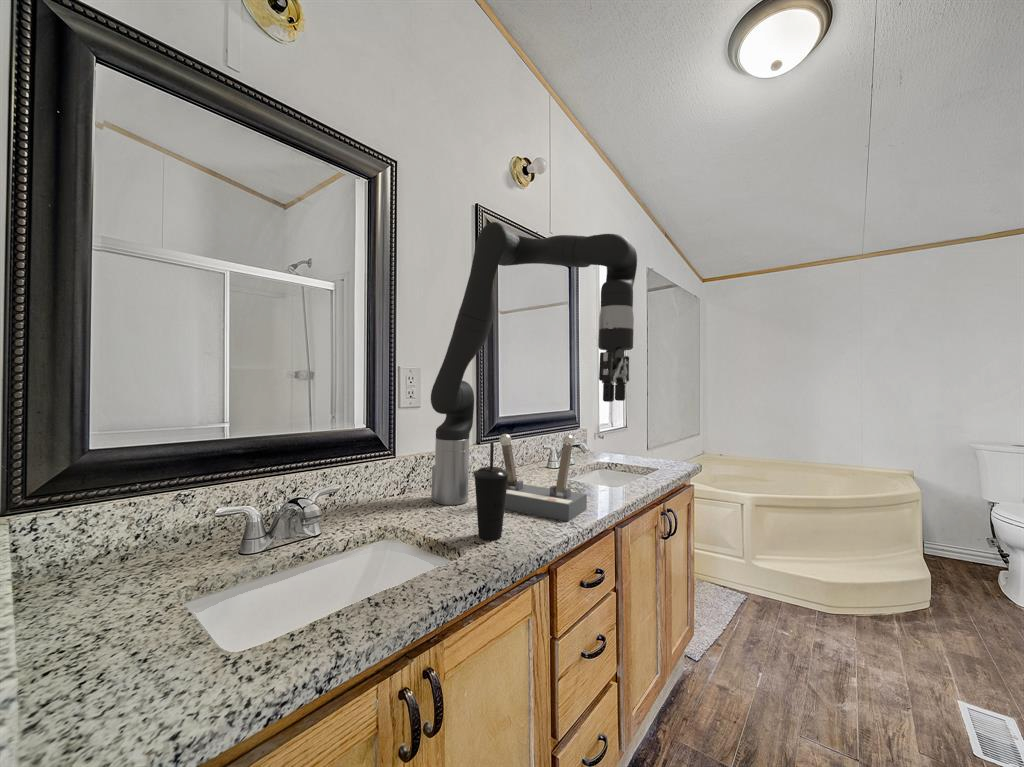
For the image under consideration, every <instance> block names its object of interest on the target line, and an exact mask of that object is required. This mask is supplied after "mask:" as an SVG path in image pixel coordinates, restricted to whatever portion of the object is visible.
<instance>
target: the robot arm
mask: <svg viewBox="0 0 1024 767" xmlns="http://www.w3.org/2000/svg"><path fill="white" fill-rule="evenodd" d="M473 253H474V254H473V258H472V264H471V266H470V268H471V269H470V272H469V277H468V280H467V282H466V287H465V291H464V295H463V298H462V302H461V305H460V307H459V310H458V314H457V316H456V319H455V320H456V321H455V324H454V328H453V331H452V335H451V338H450V341H449V344H448V347H447V350H446V353H445V355H444V359H443V362H442V364H441V366H440V369H439V371H438V373H437V376H436V378H435V380H434V382H433V385H432V389H431V392H430V404H431V407H432V409H433V410H434V411H435V413H437V414H441V415H445V418H444V421H443V422H442V423H441V424H440V425H439V426H438V427H437V428H436V429H435V447H434V448H435V450H434V451H435V452H434V453H435V454H434V457H435V458H434V464H433V465H432V466H431V492H430V493H431V496H430V497H431V499H430V500H431V501H433V502H435V503H436V504H440V505H443V506H444V505H445V506H453V505H454V506H456V505H463V504H465V503H467V502H468V501H469V473H470V472H469V471H470V470H469V469H470V467H469V466H470V465H469V463H470V436H471V435H470V433H471V430H472V428H473V424H474V411H475V393H474V390H473V389H474V388H473V387H472V386H471V384H470V383H468V382H467V381H466V380H463V378H464V376H465V372H466V370H467V367H468V366H469V364H470V363H471V361H472V360H473V359H474V358H475V356H476V355H477V354H478V353H479V351H480V350H481V349H482V348H483V346H484V344H486V341H487V339H488V337H489V334H490V331H491V328H492V324H493V322H494V317H495V300H494V280H495V277H496V273H497V270H498V268H499V266H502V267H503V266H504V267H506V266H517V265H530V264H531V265H532V264H533V265H534V264H536V265H537V264H544V265H550V266H551V265H553V266H562V267H572V268H588V267H590V266H601V267H606V280H605V282H604V283H603V284H602V286H601V288H600V307H599V308H600V311H599V317H598V343H597V344H598V349H599V350H601V351H603V352H600V353H599V369H598V370H599V372H598V381H601V383H602V384H603V385H602V401H603V402H605V403H606V402H607V403H612V402H614V401H620V402H621V401H622V402H624V401H625V400H626V385H627V383H628V382H629V381H630V356H629V355H625V351H631V350H632V349H633V348H634V323H635V322H634V320H635V318H634V308H633V307H634V283H635V279H636V274H637V268H638V255H637V254H638V253H637V250H636V248H635V247H634V245H633V244H632V242H630V241H629V240H628V238H626V237H625V236H623V235H621V234H619V233H618V234H617V233H600V234H593V235H589V236H585V235H575V234H574V235H573V234H572V235H571V234H562V235H561V234H560V235H552V236H549V237H544V238H533V237H532V238H531V237H527V236H523V235H519V234H516V233H515V232H514V231H513V230H512V229H509V228H508V227H506V226H505V225H503V224H501V223H499V222H496V221H492V222H489V223H487V224H486V225H484V226H483V227H482V229H481V231H480V232H479V234H478V236H477V239H476V243H475V248H474V252H473Z"/></svg>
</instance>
